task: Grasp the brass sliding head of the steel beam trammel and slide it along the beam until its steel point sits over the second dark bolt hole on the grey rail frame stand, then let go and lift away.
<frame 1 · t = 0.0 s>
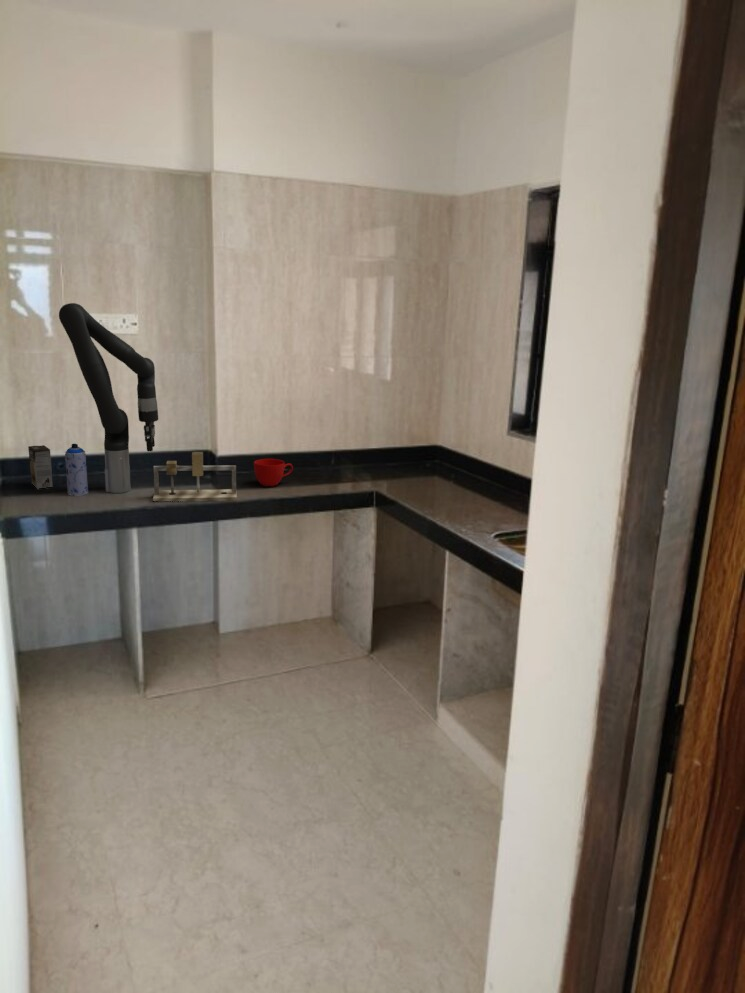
hand: (150, 448, 302), 17 cm above the counter, tool pointing down, fingers open, 8 cm apart
aerosol can: (78, 493, 297), on the counter
coffee box: (42, 486, 306), on the counter
grey rail frame stand: (195, 497, 298), on the counter
ceramic cup: (273, 484, 322), on the counter
trammel head: (197, 472, 296), point 10 cm above the counter, slide at 1.0 cm
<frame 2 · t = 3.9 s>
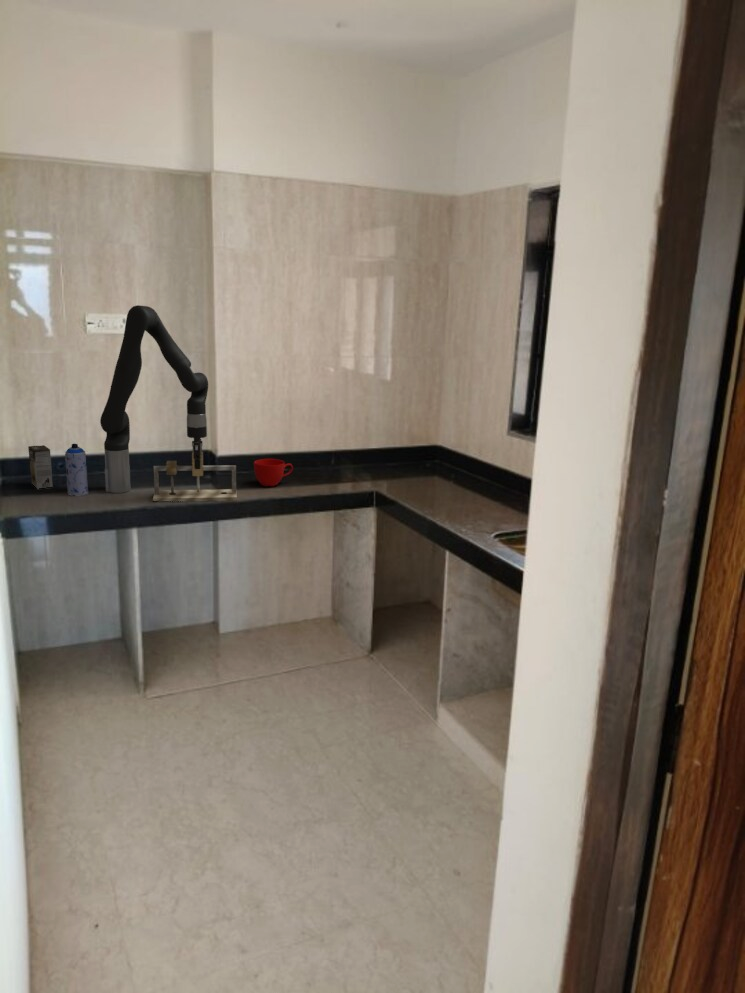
hand: (197, 467, 295), 12 cm above the counter, tool pointing down, fingers closed on trammel head, 5 cm apart
trammel head: (197, 472, 296), point 10 cm above the counter, slide at 1.0 cm, touching gripper
everything else where it was.
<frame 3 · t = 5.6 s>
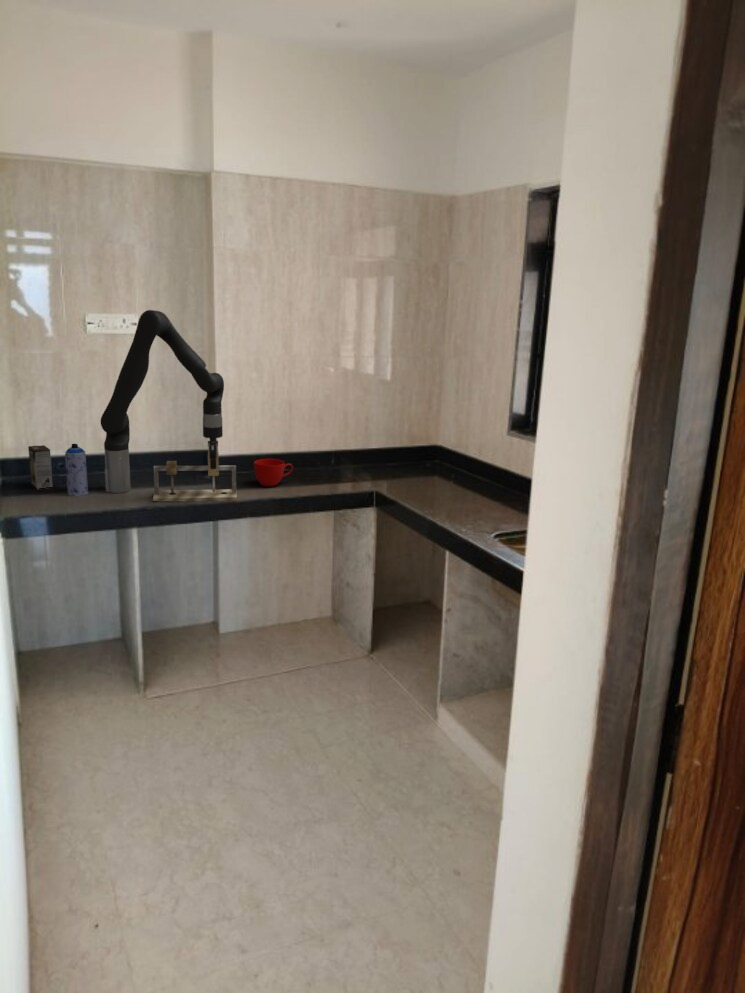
hand: (213, 467, 296), 12 cm above the counter, tool pointing down, fingers closed on trammel head, 5 cm apart
trammel head: (213, 472, 297), point 10 cm above the counter, slide at 7.0 cm, touching gripper
everything else where it was.
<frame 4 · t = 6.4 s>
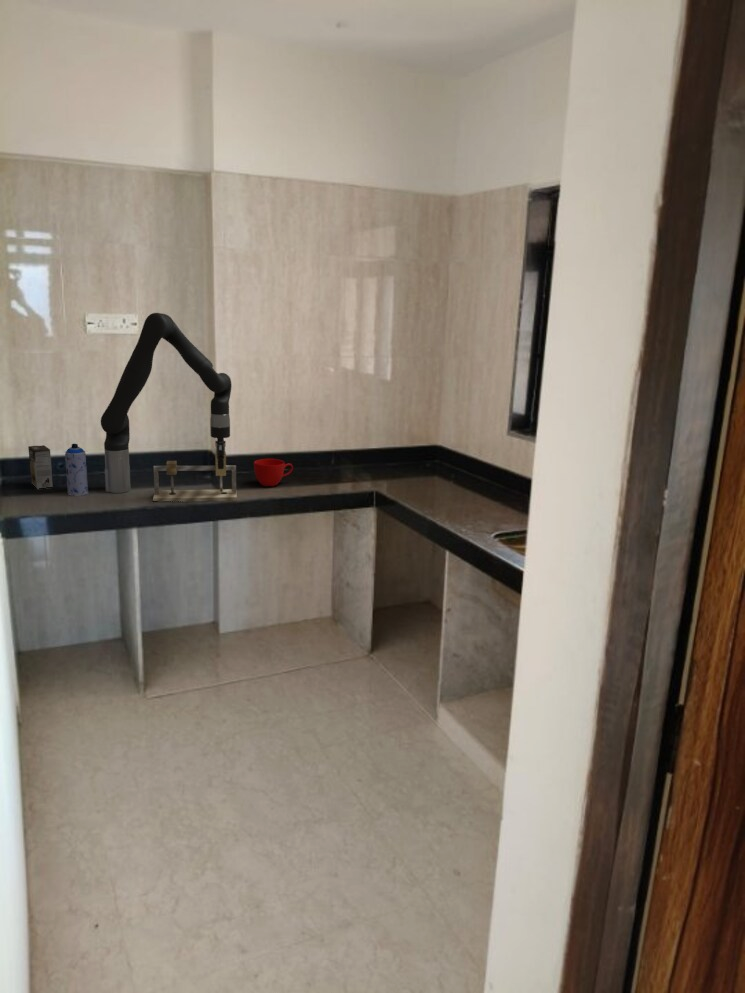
hand: (220, 466, 297), 12 cm above the counter, tool pointing down, fingers closed on trammel head, 5 cm apart
trammel head: (220, 472, 298), point 10 cm above the counter, slide at 9.9 cm, touching gripper
everything else where it was.
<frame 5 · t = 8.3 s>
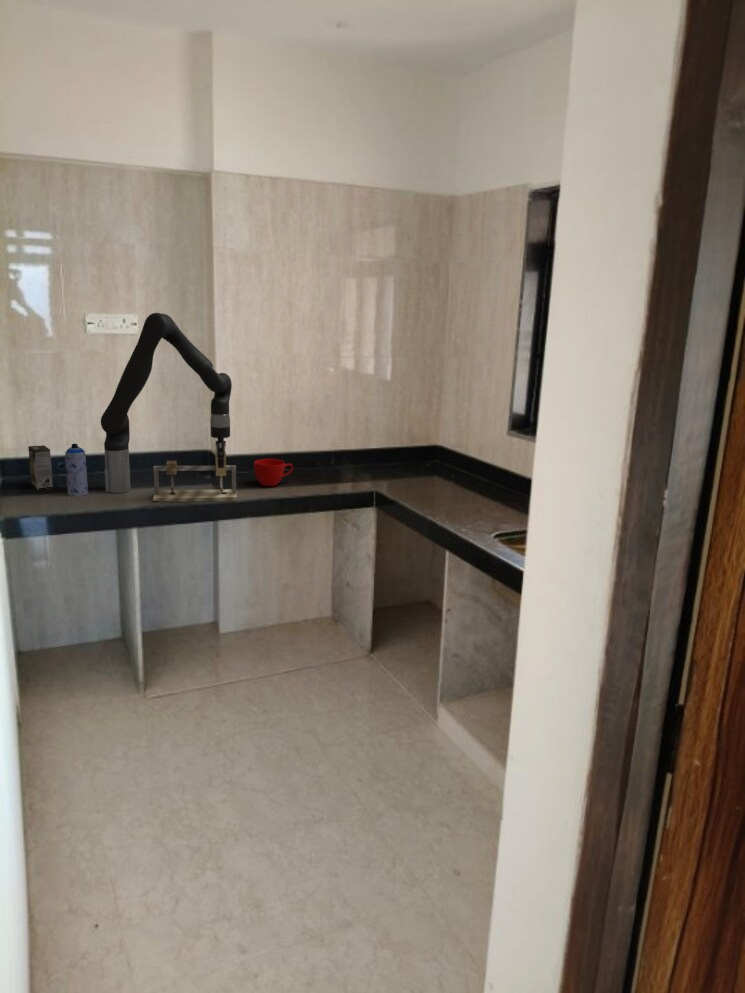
hand: (221, 465, 297), 13 cm above the counter, tool pointing down, fingers open, 8 cm apart
trammel head: (221, 472, 298), point 10 cm above the counter, slide at 10.0 cm
everything else where it was.
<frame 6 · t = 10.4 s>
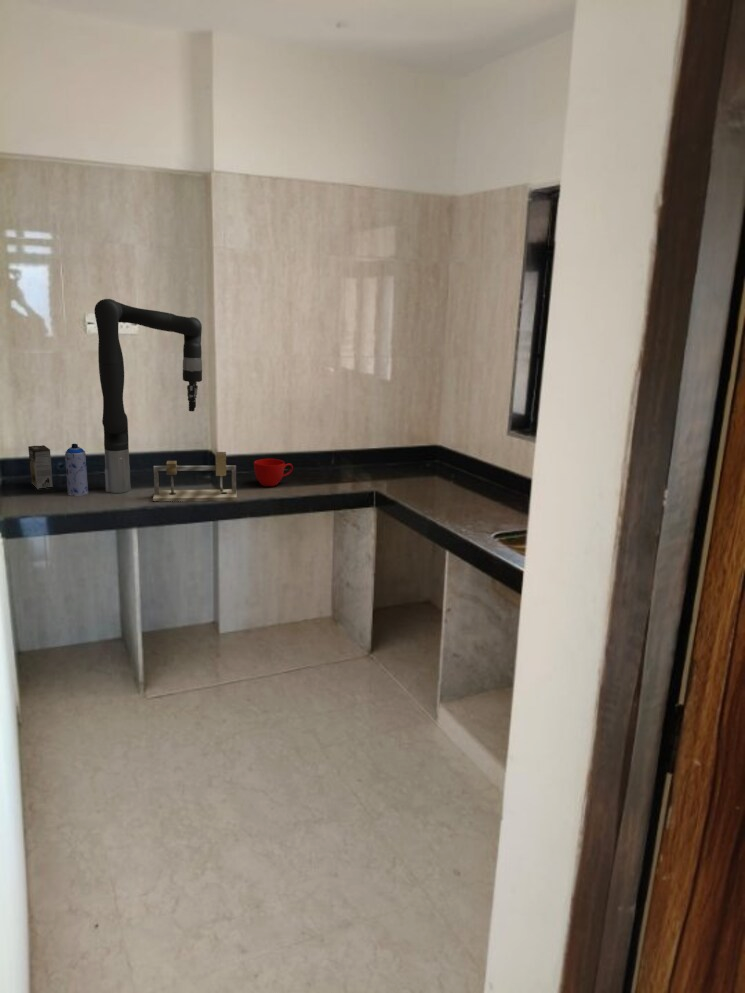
hand: (192, 409, 301), 33 cm above the counter, tool pointing down, fingers open, 8 cm apart
nothing on the counter moved.
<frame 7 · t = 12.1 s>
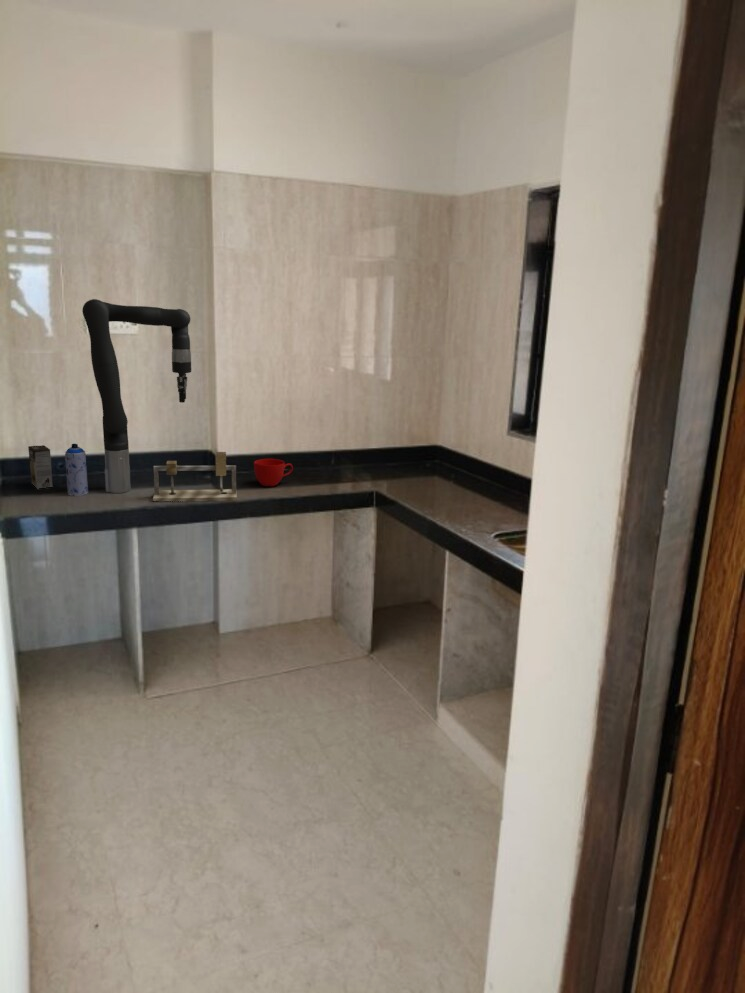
hand: (182, 400, 304), 36 cm above the counter, tool pointing down, fingers open, 8 cm apart
nothing on the counter moved.
at the end: trammel head slide at 10.0 cm; the gripper is holding nothing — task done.
